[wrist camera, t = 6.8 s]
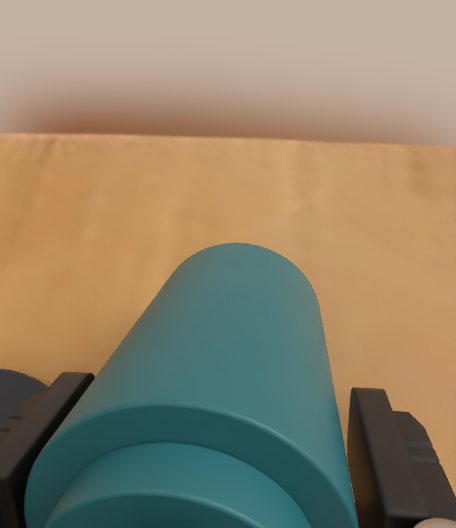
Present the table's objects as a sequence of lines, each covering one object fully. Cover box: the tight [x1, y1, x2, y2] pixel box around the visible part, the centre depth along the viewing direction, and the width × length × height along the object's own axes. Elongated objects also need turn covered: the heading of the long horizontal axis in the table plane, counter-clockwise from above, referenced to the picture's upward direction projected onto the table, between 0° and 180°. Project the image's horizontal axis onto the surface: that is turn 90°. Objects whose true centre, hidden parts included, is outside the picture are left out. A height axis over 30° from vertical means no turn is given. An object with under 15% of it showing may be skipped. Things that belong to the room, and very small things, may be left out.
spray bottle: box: [24, 243, 359, 528], centre depth 10 cm, size 12×6×13 cm, turn 176°
